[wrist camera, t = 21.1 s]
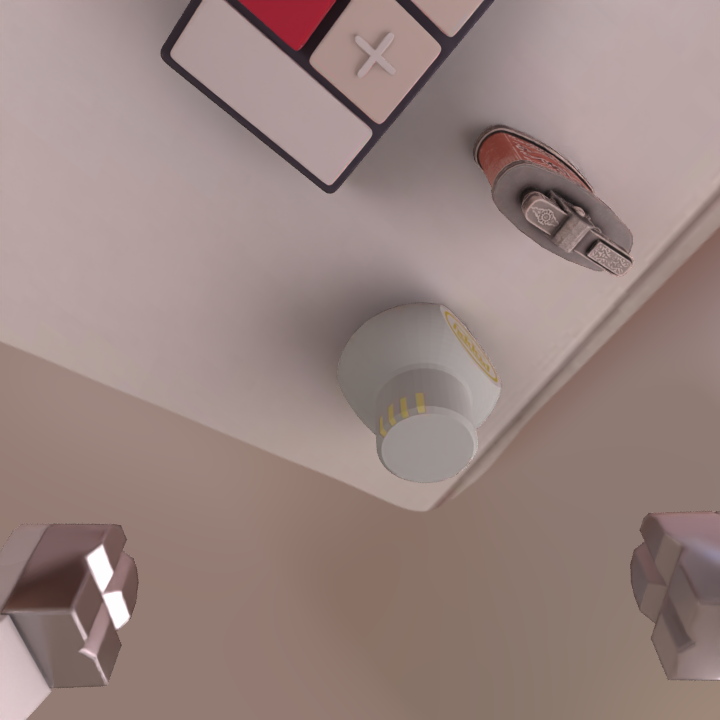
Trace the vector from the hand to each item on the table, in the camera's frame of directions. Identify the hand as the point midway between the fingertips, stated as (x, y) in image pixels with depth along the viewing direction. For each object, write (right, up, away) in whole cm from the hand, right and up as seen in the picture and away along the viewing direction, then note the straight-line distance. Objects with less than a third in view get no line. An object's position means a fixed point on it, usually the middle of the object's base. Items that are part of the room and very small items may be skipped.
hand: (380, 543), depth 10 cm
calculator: (-1, +22, +23) cm, 32 cm away
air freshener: (+4, +3, +35) cm, 36 cm away
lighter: (+10, +14, +28) cm, 33 cm away
